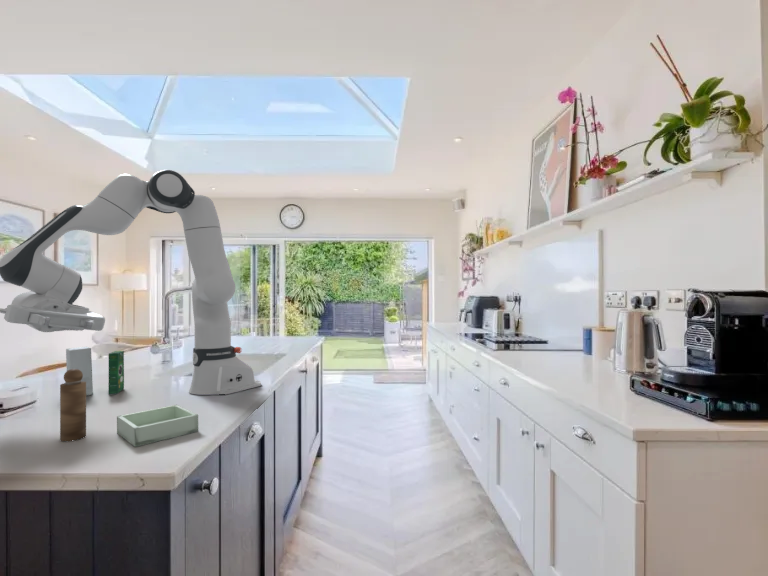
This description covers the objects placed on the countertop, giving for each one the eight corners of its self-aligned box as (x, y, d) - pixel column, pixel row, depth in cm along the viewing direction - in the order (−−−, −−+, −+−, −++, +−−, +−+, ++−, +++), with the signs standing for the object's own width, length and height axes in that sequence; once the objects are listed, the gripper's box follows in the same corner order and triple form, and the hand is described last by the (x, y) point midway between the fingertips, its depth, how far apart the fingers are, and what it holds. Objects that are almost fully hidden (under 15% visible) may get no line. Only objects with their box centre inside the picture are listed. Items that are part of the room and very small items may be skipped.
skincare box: (93, 394, 131) (93, 347, 131) (69, 398, 127) (69, 349, 127) (88, 390, 137) (88, 345, 137) (65, 393, 133) (65, 347, 133)
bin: (176, 419, 104) (176, 404, 104) (198, 431, 95) (198, 414, 95) (116, 432, 95) (116, 416, 95) (135, 446, 86) (135, 428, 86)
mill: (83, 432, 95) (83, 366, 95) (88, 437, 92) (88, 368, 92) (58, 438, 92) (58, 368, 92) (62, 443, 88) (62, 371, 89)
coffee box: (114, 389, 138) (114, 350, 138) (124, 388, 139) (124, 349, 139) (107, 395, 131) (107, 353, 131) (118, 394, 132) (118, 352, 132)
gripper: (-1, 296, 100) (19, 304, 92) (93, 308, 117) (116, 316, 109) (-8, 321, 99) (11, 332, 92) (87, 330, 116) (110, 339, 109)
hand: (69, 323), depth 100 cm, fingers open, 8 cm apart
